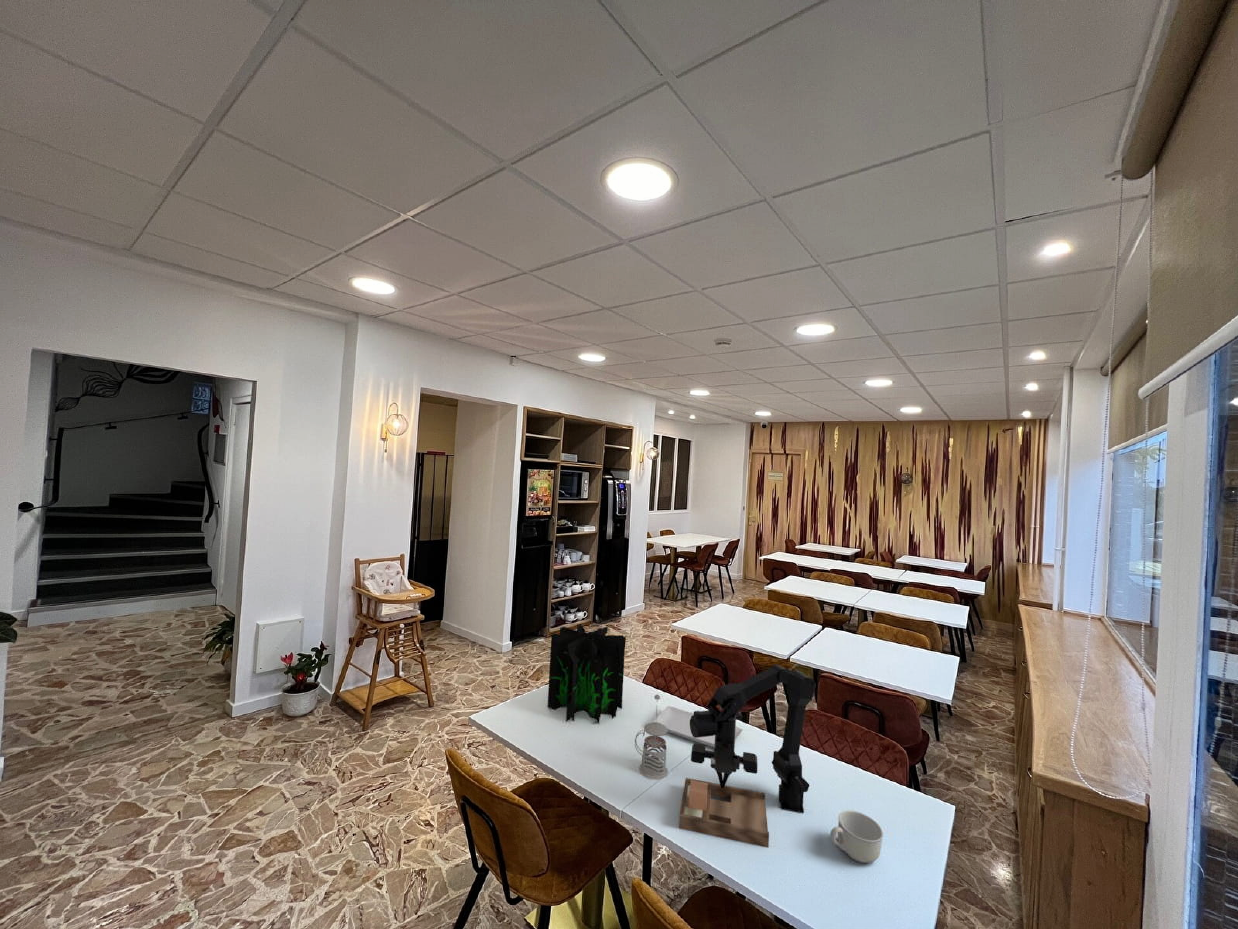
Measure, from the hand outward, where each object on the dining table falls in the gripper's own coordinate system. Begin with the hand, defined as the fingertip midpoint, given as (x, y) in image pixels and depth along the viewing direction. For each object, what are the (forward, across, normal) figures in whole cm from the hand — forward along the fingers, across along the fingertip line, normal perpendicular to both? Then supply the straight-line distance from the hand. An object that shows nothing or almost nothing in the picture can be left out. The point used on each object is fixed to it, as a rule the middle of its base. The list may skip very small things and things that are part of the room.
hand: (722, 787), depth 144 cm
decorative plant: (+8, -57, +51) cm, 77 cm away
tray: (+9, -10, +44) cm, 46 cm away
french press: (+8, -23, +16) cm, 29 cm away
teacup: (+8, +35, -4) cm, 36 cm away
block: (+6, -7, 0) cm, 9 cm away
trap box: (+8, +1, 0) cm, 8 cm away
